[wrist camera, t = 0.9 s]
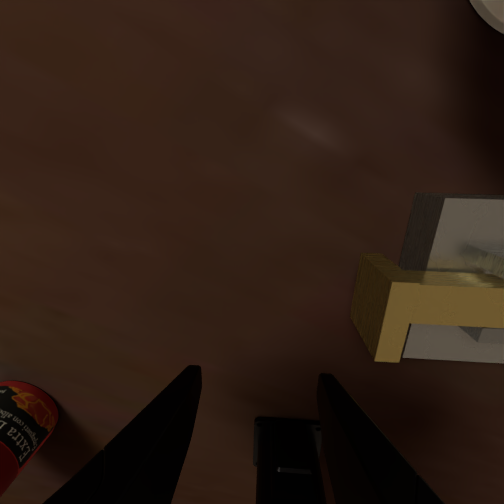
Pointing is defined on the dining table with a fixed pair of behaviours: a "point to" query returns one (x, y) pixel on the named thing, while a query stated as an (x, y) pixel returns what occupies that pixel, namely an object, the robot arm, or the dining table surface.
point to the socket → (455, 268)
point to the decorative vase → (491, 12)
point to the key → (419, 302)
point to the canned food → (22, 426)
